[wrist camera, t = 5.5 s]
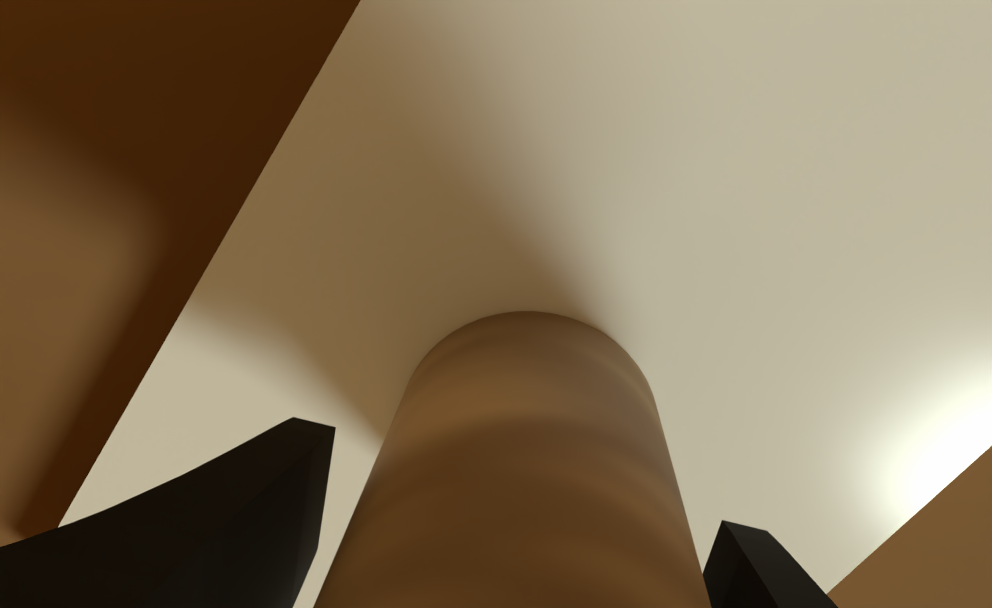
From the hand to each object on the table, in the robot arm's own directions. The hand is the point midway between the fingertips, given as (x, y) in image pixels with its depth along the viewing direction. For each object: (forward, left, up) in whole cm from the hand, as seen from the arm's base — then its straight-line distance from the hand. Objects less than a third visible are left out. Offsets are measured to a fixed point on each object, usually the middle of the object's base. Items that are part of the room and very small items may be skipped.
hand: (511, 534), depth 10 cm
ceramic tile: (0, 0, -4) cm, 4 cm away
